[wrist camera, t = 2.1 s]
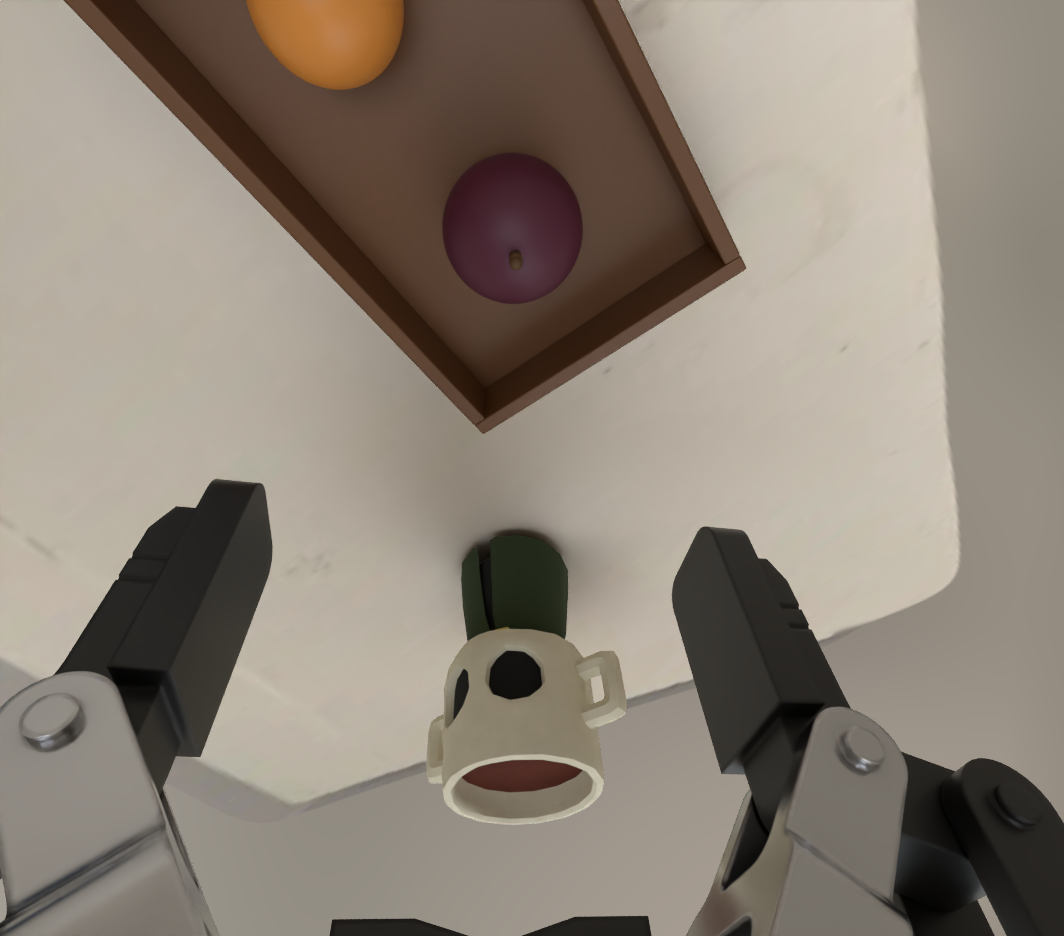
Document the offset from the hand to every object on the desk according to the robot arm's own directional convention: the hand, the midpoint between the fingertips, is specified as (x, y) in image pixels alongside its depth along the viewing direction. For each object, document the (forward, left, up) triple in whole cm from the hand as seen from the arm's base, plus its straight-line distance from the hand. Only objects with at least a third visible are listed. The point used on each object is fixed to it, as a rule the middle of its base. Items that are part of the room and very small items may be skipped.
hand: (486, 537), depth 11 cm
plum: (-1, +2, -16) cm, 16 cm away
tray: (-4, +2, -16) cm, 17 cm away
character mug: (+16, -10, -16) cm, 25 cm away
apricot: (-9, +1, -16) cm, 18 cm away
